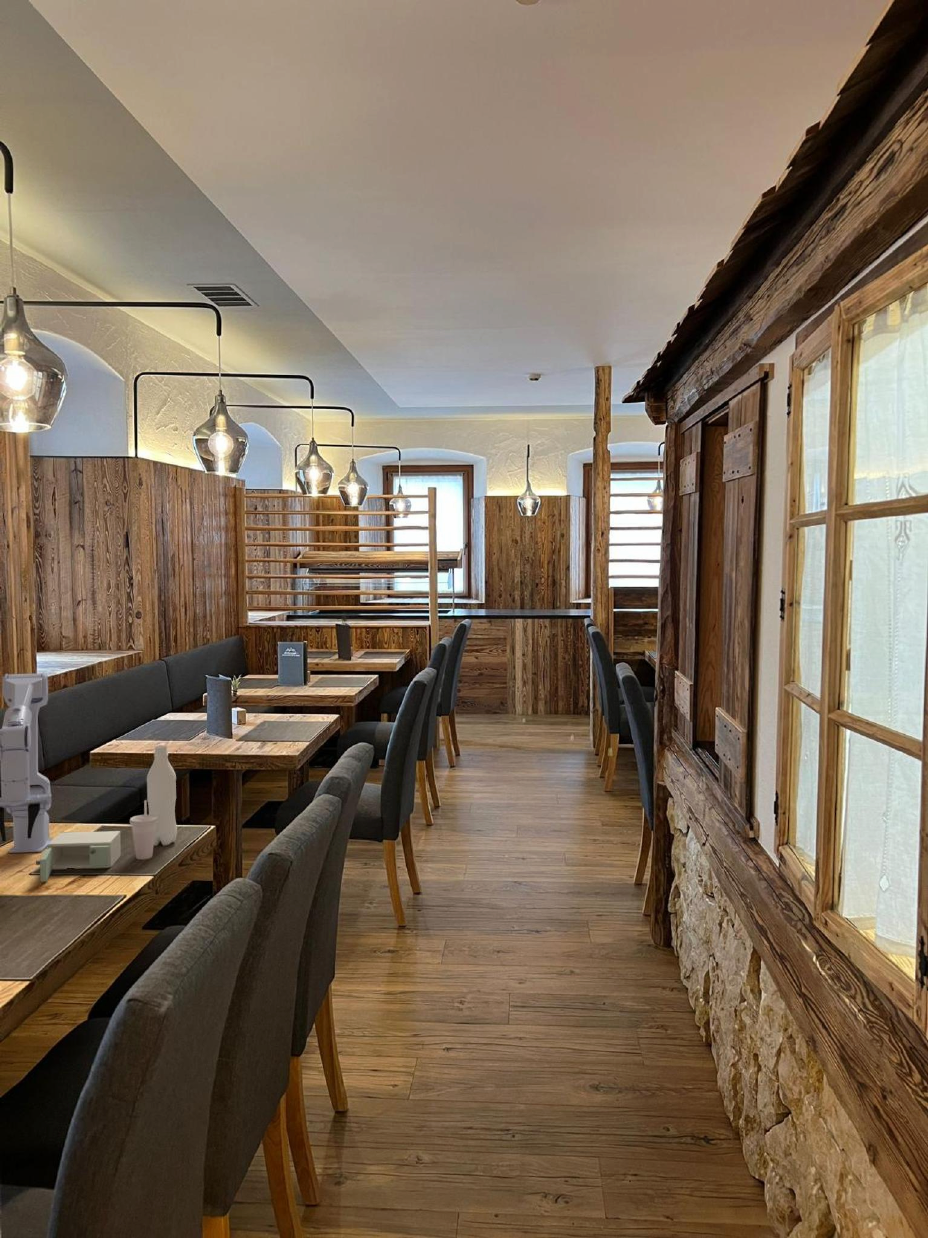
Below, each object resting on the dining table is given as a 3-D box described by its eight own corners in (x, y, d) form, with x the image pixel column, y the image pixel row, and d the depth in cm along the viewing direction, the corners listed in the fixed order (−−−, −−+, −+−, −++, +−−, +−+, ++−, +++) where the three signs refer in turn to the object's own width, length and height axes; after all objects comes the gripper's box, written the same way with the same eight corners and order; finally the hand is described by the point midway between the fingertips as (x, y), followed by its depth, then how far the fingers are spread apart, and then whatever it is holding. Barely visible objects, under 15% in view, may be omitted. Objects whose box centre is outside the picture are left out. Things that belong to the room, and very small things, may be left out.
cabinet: (61, 857, 220) (60, 832, 219) (120, 855, 221) (120, 831, 221) (45, 873, 208) (44, 847, 208) (108, 870, 210) (107, 845, 210)
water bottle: (183, 841, 232) (181, 745, 231) (160, 849, 226) (158, 750, 225) (164, 837, 236) (163, 742, 235) (141, 844, 230) (139, 747, 229)
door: (52, 868, 210) (52, 847, 210) (46, 881, 202) (45, 859, 201) (42, 868, 210) (42, 847, 210) (36, 882, 201) (35, 860, 201)
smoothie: (149, 862, 216) (148, 804, 215) (124, 860, 217) (123, 803, 217) (163, 853, 222) (162, 797, 222) (139, 852, 224) (138, 796, 223)
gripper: (-23, 786, 195) (-21, 848, 196) (51, 779, 202) (52, 839, 203) (-22, 779, 202) (-20, 839, 203) (50, 773, 208) (51, 831, 209)
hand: (16, 838), depth 203 cm, fingers open, 4 cm apart
